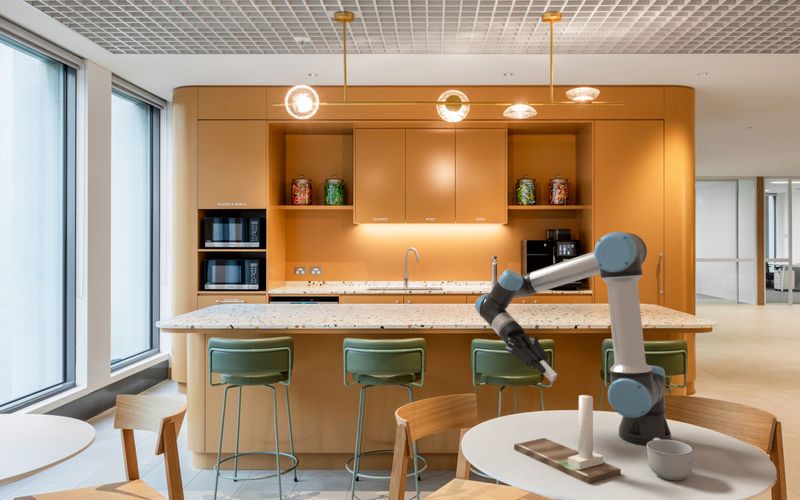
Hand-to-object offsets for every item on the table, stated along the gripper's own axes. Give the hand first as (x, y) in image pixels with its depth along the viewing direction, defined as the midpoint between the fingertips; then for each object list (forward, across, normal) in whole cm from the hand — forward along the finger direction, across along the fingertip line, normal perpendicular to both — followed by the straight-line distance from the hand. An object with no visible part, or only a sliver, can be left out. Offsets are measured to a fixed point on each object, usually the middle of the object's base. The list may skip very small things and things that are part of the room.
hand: (554, 378), depth 170 cm
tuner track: (+20, +9, -10) cm, 24 cm away
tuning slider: (+25, +9, -4) cm, 27 cm away
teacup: (+37, -8, -2) cm, 38 cm away
